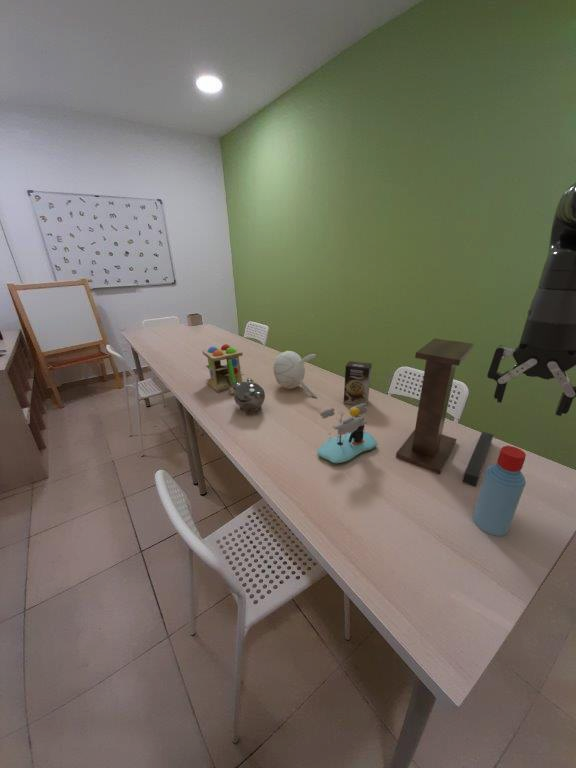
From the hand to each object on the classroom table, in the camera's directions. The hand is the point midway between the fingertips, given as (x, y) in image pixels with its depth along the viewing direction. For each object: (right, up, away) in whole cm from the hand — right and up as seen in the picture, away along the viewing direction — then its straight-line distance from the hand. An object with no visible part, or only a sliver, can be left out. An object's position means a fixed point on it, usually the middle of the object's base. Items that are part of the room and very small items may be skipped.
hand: (527, 407), depth 55 cm
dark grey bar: (+10, -18, +31) cm, 37 cm away
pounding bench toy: (-71, +3, +84) cm, 110 cm away
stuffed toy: (-40, +2, +79) cm, 88 cm away
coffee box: (-16, -3, +66) cm, 68 cm away
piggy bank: (-58, -6, +63) cm, 86 cm away
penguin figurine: (-25, -16, +37) cm, 48 cm away
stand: (-2, -16, +36) cm, 39 cm away
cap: (0, -12, +5) cm, 13 cm away
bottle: (+1, -26, +11) cm, 29 cm away
